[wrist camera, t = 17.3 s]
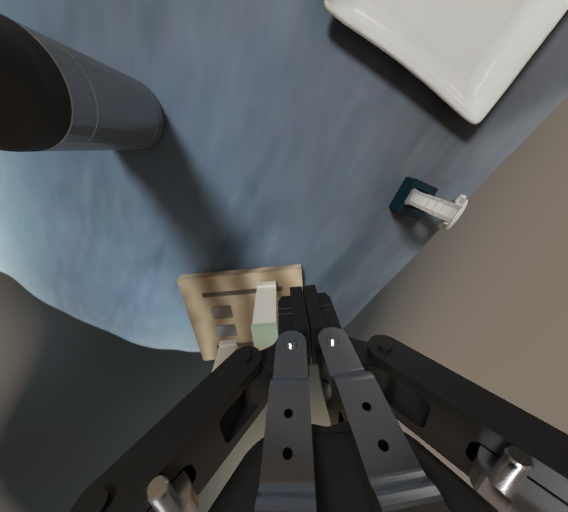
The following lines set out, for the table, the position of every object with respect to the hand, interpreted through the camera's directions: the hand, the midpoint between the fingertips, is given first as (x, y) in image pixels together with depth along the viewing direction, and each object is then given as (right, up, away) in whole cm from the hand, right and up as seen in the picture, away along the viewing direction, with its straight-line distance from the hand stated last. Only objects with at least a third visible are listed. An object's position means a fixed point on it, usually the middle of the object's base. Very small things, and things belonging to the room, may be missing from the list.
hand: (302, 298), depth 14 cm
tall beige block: (-4, -4, +31) cm, 32 cm away
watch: (+21, +13, +27) cm, 36 cm away
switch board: (-9, -10, +37) cm, 39 cm away
